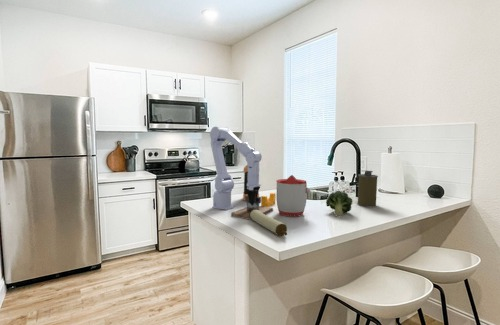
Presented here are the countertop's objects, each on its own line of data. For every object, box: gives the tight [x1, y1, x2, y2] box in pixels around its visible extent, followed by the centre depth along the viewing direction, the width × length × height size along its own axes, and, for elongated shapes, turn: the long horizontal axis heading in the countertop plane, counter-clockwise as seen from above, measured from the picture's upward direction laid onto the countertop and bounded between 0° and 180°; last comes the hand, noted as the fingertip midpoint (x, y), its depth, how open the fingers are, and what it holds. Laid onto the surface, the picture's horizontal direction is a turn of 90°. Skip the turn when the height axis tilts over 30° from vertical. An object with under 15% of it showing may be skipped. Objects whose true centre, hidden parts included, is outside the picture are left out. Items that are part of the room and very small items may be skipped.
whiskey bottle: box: [242, 147, 260, 202], centre depth 180 cm, size 10×10×32 cm
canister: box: [356, 170, 379, 208], centre depth 169 cm, size 11×10×20 cm
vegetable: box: [325, 190, 353, 217], centre depth 150 cm, size 12×13×15 cm
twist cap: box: [245, 195, 261, 211], centre depth 148 cm, size 6×8×7 cm
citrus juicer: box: [275, 174, 312, 217], centre depth 147 cm, size 16×17×20 cm
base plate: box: [231, 205, 274, 220], centre depth 149 cm, size 13×20×2 cm, turn 150°
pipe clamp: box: [260, 192, 276, 207], centre depth 166 cm, size 12×4×6 cm, turn 148°
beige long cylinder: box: [249, 209, 288, 237], centre depth 126 cm, size 32×6×5 cm, turn 25°
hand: (253, 201), depth 148 cm, fingers open, 7 cm apart
